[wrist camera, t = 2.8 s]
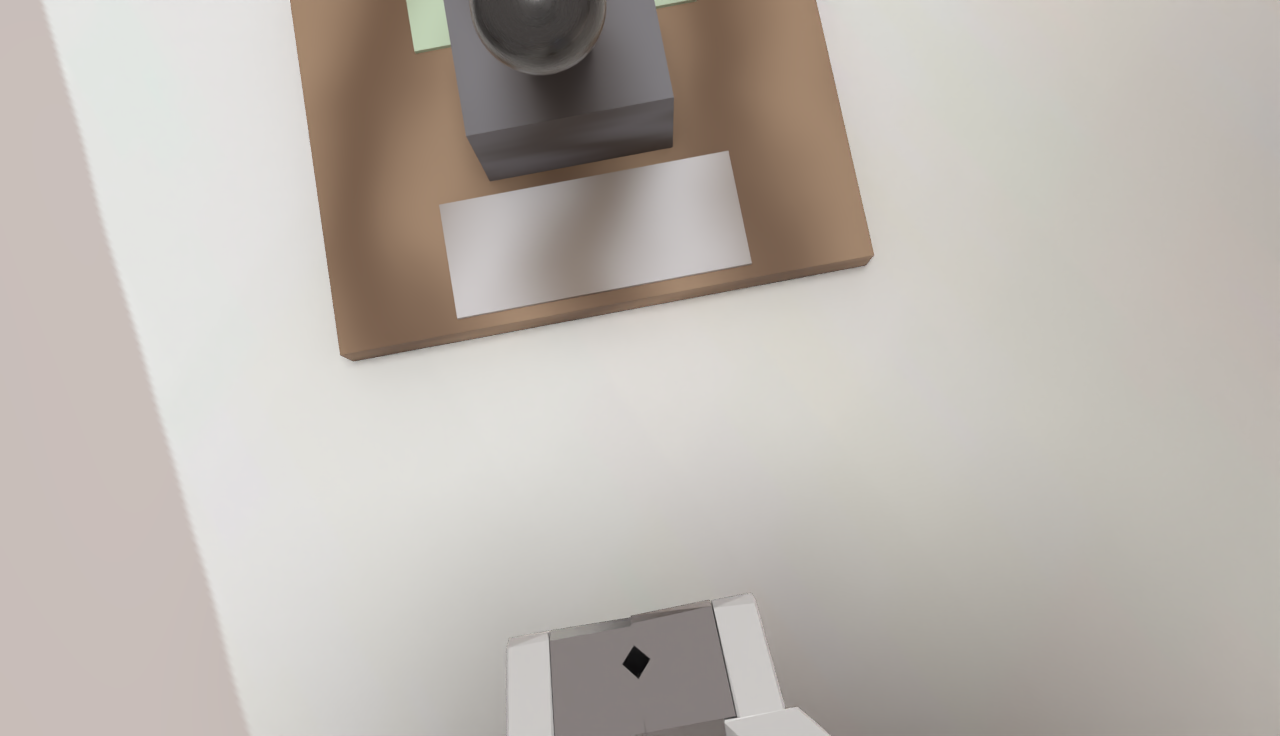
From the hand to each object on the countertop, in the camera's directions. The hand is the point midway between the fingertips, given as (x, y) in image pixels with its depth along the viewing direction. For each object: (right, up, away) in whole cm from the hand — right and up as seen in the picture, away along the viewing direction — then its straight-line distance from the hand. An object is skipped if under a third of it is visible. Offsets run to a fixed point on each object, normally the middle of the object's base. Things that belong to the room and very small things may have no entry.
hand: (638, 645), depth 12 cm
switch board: (-3, +13, +27) cm, 30 cm away
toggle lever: (-3, +14, +20) cm, 25 cm away
